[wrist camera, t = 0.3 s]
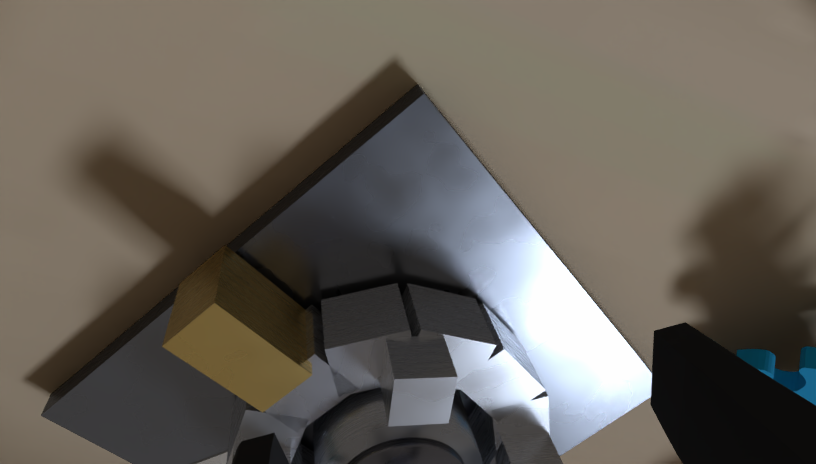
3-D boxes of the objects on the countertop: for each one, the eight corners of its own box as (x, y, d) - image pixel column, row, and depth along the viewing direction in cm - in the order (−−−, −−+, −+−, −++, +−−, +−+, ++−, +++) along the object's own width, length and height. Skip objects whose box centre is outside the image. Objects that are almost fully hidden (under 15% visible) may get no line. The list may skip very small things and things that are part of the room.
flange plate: (360, 564, 30) (362, 585, 29) (50, 394, 21) (40, 416, 20) (651, 371, 26) (664, 389, 25) (417, 84, 18) (424, 94, 17)
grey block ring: (370, 534, 26) (383, 638, 23) (83, 364, 19) (35, 475, 16) (575, 397, 24) (626, 487, 21) (335, 151, 17) (348, 221, 14)
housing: (373, 451, 26) (391, 568, 21) (280, 385, 23) (278, 504, 19) (476, 378, 25) (518, 486, 20) (391, 301, 22) (417, 405, 17)
